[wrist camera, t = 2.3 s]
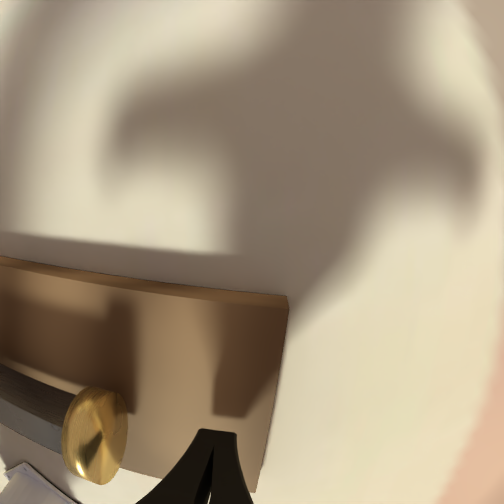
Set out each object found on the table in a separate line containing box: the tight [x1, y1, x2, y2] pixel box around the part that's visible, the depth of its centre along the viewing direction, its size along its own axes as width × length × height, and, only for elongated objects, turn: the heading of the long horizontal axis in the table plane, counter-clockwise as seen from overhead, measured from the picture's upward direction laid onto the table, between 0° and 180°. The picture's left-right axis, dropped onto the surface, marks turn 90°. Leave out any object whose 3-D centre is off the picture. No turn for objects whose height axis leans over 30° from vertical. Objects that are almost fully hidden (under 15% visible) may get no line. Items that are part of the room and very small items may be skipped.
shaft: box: [0, 363, 128, 485], centre depth 9 cm, size 12×4×4 cm, turn 85°
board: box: [0, 256, 289, 493], centre depth 10 cm, size 25×11×6 cm, turn 85°
